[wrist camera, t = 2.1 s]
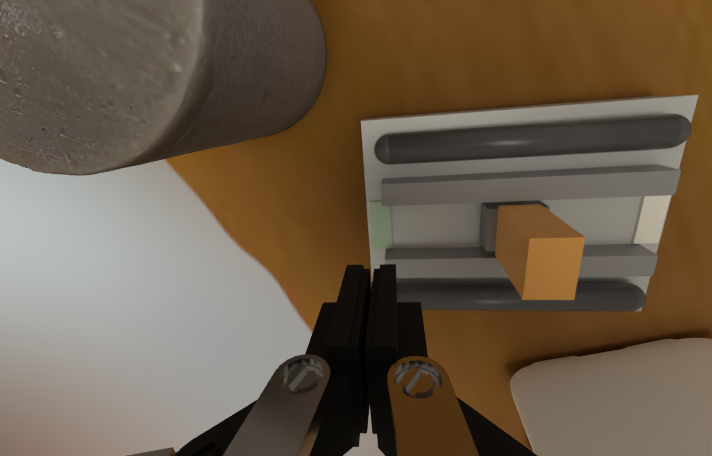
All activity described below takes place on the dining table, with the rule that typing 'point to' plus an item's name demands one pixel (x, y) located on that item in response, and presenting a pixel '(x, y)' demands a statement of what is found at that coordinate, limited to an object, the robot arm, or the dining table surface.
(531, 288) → the lever
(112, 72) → the pillar candle
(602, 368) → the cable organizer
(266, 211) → the dining table surface
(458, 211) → the grey slotted tray
